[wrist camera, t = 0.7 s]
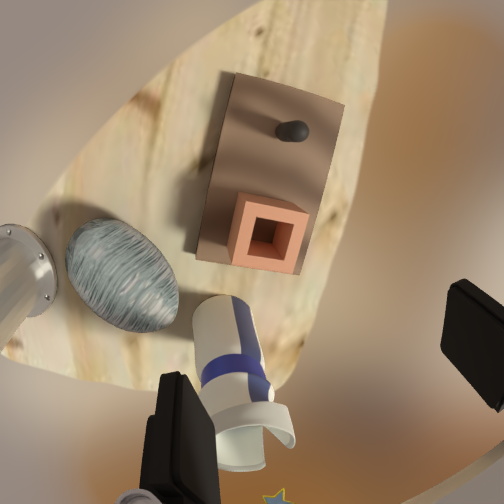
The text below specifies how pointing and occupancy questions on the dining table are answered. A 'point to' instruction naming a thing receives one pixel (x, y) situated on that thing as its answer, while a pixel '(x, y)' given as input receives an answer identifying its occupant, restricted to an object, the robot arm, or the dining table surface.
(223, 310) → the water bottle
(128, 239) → the grey streaked oval part
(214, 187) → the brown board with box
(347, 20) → the dining table surface
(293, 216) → the orange hollow square block
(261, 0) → the dining table surface
